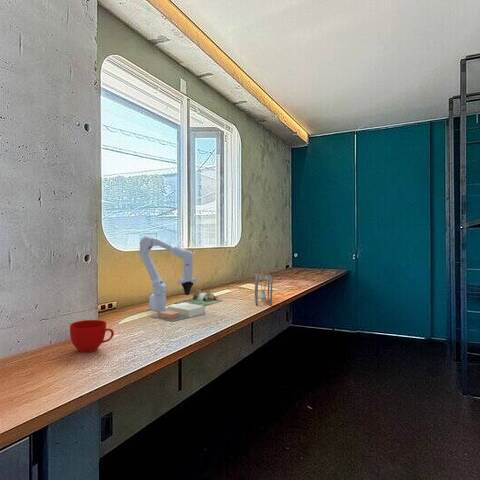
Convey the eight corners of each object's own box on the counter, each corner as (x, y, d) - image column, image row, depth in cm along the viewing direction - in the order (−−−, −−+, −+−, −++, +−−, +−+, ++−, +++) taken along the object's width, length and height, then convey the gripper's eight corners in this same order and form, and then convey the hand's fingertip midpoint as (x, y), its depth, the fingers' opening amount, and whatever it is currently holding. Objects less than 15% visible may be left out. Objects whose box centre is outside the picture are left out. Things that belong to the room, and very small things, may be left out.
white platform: (167, 313, 208) (167, 306, 208) (183, 309, 220) (183, 302, 220) (188, 317, 200) (189, 310, 200) (204, 313, 212) (205, 306, 211)
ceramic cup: (103, 357, 133) (104, 330, 133) (61, 353, 136) (62, 326, 136) (121, 347, 146) (121, 322, 146) (82, 343, 149) (83, 318, 149)
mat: (150, 317, 198) (150, 316, 198) (166, 313, 208) (166, 312, 208) (173, 321, 189) (173, 320, 189) (188, 317, 199) (188, 316, 199)
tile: (167, 310, 203) (167, 314, 203) (158, 312, 197) (158, 316, 197) (179, 312, 198) (179, 317, 198) (170, 314, 192) (170, 319, 192)
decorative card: (201, 286, 265) (226, 289, 256) (201, 297, 265) (225, 300, 256) (174, 292, 235) (200, 296, 226) (174, 304, 236) (200, 308, 227)
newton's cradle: (271, 306, 237) (272, 279, 237) (255, 306, 237) (256, 278, 237) (268, 298, 267) (269, 274, 267) (254, 297, 267) (255, 273, 267)
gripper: (184, 273, 208) (184, 297, 208) (200, 271, 220) (200, 294, 220) (175, 272, 211) (174, 295, 212) (191, 270, 224) (191, 292, 224)
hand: (187, 294), depth 216 cm, fingers closed
